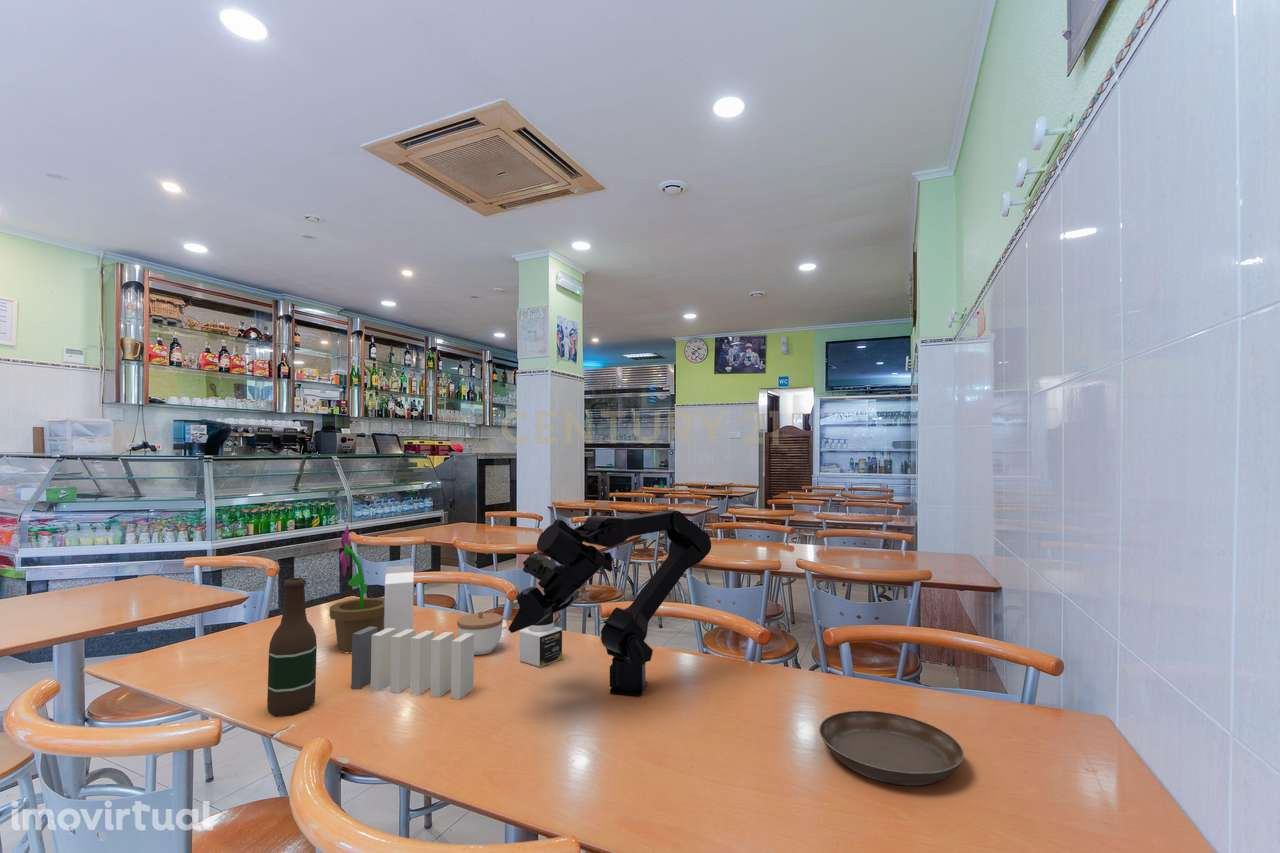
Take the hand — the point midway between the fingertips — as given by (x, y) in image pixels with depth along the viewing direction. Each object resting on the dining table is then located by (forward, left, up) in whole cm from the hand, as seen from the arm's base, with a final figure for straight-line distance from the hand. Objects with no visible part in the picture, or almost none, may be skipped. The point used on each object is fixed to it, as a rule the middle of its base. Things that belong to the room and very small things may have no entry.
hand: (520, 625), depth 114 cm
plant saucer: (-66, +9, -14) cm, 68 cm away
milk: (+35, -11, -14) cm, 39 cm away
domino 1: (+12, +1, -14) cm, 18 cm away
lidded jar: (+21, -23, -14) cm, 34 cm away
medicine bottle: (+4, -20, -14) cm, 25 cm away
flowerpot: (+52, -20, -14) cm, 58 cm away
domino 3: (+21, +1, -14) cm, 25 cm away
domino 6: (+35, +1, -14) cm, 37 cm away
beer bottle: (+40, +14, -14) cm, 45 cm away
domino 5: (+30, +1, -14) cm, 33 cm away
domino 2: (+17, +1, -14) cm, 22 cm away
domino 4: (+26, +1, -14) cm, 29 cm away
